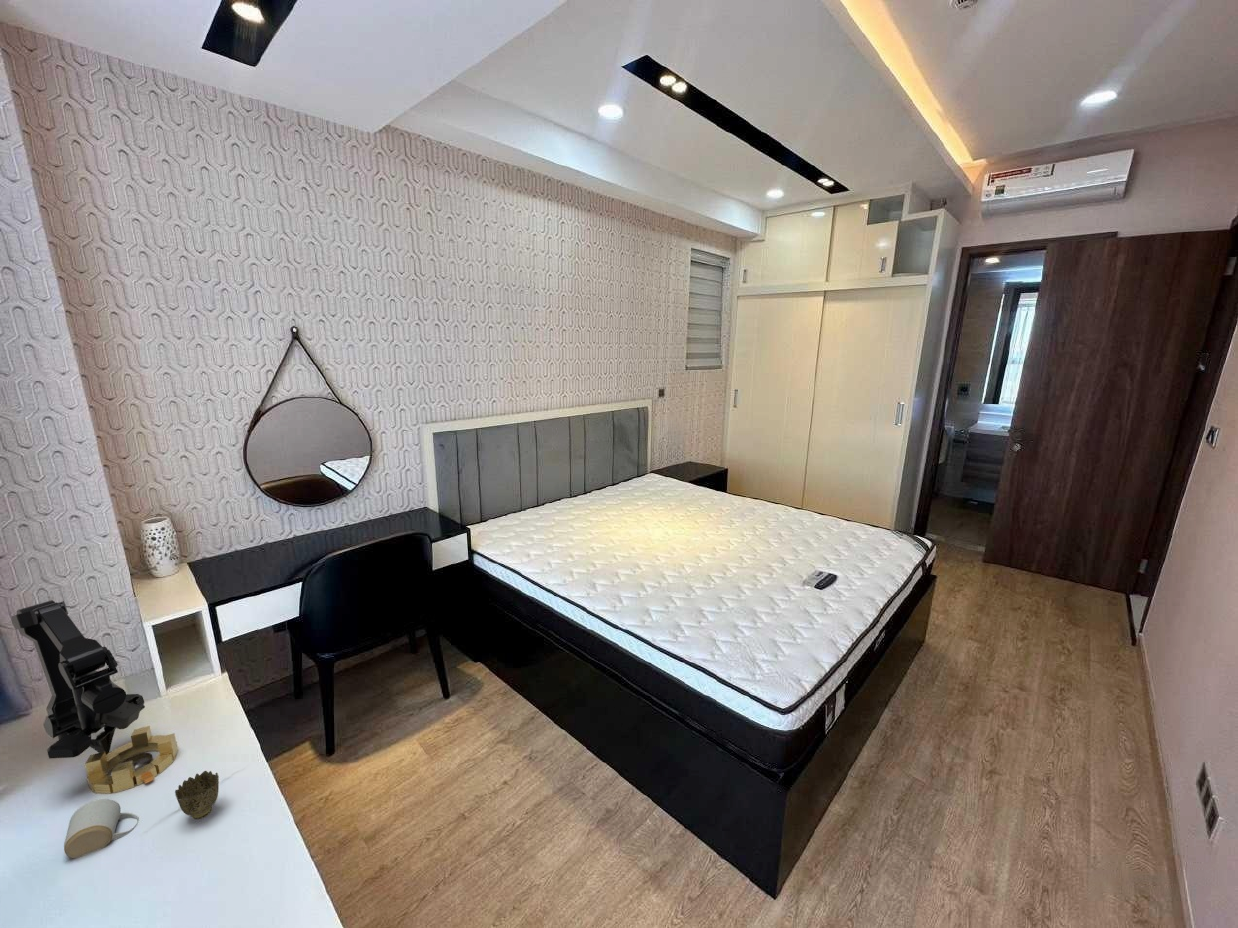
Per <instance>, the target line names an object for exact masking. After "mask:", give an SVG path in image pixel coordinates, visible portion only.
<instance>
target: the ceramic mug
mask: <svg viewBox="0 0 1238 928" xmlns="http://www.w3.org/2000/svg"><path fill="white" fill-rule="evenodd" d="M121 809H122V808H121V805H120V803H119V802H117V801H116V800H114V799H109V798H102V799H101V798H100V799H96V800H92V801H89V802H87V803H85V804H84V805H82V806H80V807H79V808H77V809H76V810H75V811H74V813H73V814H72V815H71V816H70V820H69V823H68V826H67V830H66V836H65V838H64V844H63V851H64V854H65V855H66V856H67V857H69V858H71V859H78V858H82V857H83V856H86V855H89V854H91V853H94V852H96V851H98V850H101V849H103V848H105V847H107V846H108V845H109V843H111V842H112V841H115V840H118V839H120V838H122V837H124V836H126V835H128V834H130V833H131V832H132V831H134V829H136V828H137V826H138V825H139V824H138V823H139V821H140V817H139V816H138V815H136V814H134V813H133V812H132V813H129V812H121ZM126 819H134V820H137V822H136V824H135V825H134V826H133V827H132V828H130V829H129V830H126V831H122V832H115V831H116V829H117V824H118V823H119V821H122V820H126Z"/></svg>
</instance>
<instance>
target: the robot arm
mask: <svg viewBox="0 0 1238 928" xmlns="http://www.w3.org/2000/svg"><path fill="white" fill-rule="evenodd" d="M10 620H11V624H12V626H13V628H14V629H15V630H18V632H19V634H20V636H22V637H24V638H26V639H28V640H30V641H32V643H33V644H34V647H35V650H36V653H37V656H38V659H39V662H40V665H41V668H42V670H43V671H42V672H43V674H44V677H45V680H46V682H47V685H48V687H49V691H50V694H51V697H50V699H49V701H48V703H47V706H46V713H47V716H45V719H44V722H43V728H44V731H45V733H46V734H47V735H48V736H49V737H51V738H52V739H55V738H57V740H56V742H55V743H53V744H51V745H50V746H49V747H48V748H47V749H46V751H47V756H48V759H69V758H76V757H79V756H81V754H82V753H84V752H86V750H87V749H89V748H91V749H93V750H95V751H96V752H97V753H100V752H104V751H105V753H106V755H107V754H108V753H109V752H111V751H110V750H111V747H112V743H113V738H114V734H115V731H116V729H118V730H125V729H127V728H128V727H130V726H131V724H133V723H134V722H135V721H137V720H138V719H139V717H140V712H142V710H144V709H145V708H146V706H145V705H144V704H145V699H144V697H143V695H141V694H139V693H128V694H127V692H126V691H125V689H124V688H122V687H120V686H119V685H118V684H116V683H114V681H112V680H111V677H110V676H113V675H115V674H118V673H119V671H118V668H117V667H118V664H119V663H117V661H116V659H115V657H114V656H113V653H112V651H111V650H110V649H108V647H106V646H102V644H101V643H100V642H98V640H97V639H95V638H89V637H85V636H84V635H83V633H82V632H81V630H80V629H79V628H78V627H77V626H76V624H75V622H74V621H73V620H72V619H71V618H70V616H69V611H68V609H67V606H66V602H65V600H63V601H59V602H57V601H56V602H55V601H54V600H52V599H50V600H48V601H44V602H41V603H37V604H33V605H30V606H27V607H22V608H19V609H16V614H14V615H11V617H10ZM105 666H107V667H106V668H104V667H105ZM102 668H104V669H102ZM100 669H101V670H100Z"/></svg>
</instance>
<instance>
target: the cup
mask: <svg viewBox="0 0 1238 928" xmlns="http://www.w3.org/2000/svg"><path fill="white" fill-rule="evenodd" d="M219 778H220V777H219V773H218V772H216V773H215V774H214V773H213V772H212V770H210V771H209V772H208V770H204V771H203V772H202V773H200V775H199V773H196V774H195V775H194V777H191V776H189V777H188V778H187V779H186V780H185V779H183V782H182V785H181V784H179V785H178V786H177V787H178V789H175V791H174V795H175V798H176V800H177V803H178V805H179V807H180V809H181V811H182V813H183V814H185V815H187V816H190V817H191V818H192V819H194V820H201V819H203V818H205V817H207V816H208V815H210V813H211V812H212V811H213V810H212V809H213V806H214V805H215V804H216V802H217V800H218V797H219V790H220V789H219V787H220V786H219V782H220V781H219Z"/></svg>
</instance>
